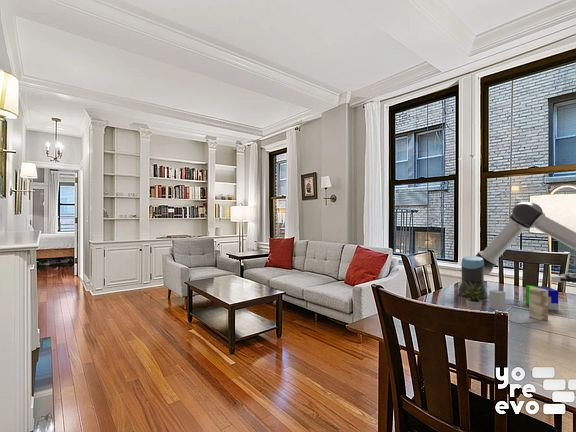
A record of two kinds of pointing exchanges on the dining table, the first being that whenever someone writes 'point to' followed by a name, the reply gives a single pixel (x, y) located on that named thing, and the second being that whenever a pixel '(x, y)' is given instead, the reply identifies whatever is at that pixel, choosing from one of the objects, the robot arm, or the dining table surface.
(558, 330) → the dining table surface
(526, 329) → the dining table surface
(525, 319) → the felt mat
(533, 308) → the maple block
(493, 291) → the grey block
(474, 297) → the house plant
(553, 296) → the puzzle toy
